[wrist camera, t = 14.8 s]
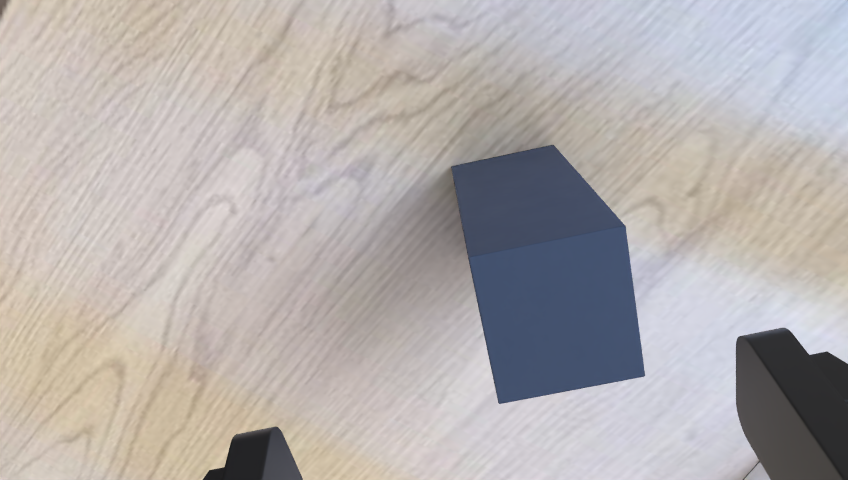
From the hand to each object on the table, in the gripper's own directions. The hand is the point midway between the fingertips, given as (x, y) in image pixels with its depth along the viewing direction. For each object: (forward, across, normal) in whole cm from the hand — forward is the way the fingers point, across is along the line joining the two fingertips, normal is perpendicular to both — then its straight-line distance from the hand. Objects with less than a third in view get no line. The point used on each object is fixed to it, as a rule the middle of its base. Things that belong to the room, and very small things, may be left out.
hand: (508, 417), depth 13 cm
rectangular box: (+19, -2, +6) cm, 20 cm away
